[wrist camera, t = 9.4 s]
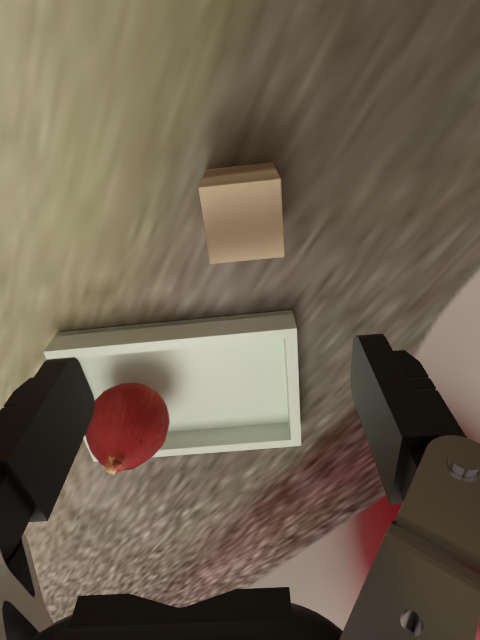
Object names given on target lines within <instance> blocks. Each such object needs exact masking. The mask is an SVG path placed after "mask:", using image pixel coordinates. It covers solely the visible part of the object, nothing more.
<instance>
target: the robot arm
mask: <svg viewBox="0 0 480 640" xmlns="http://www.w3.org/2000/svg"><path fill="white" fill-rule="evenodd" d="M351 390H352V395H353V399H354V402H355V405H356V408H357V411H358V414H359V417H360V420H361V423H362V426H363V428H364V431H365V434H366V437H367V440H368V443H369V446H370V449H371V452H372V455H373V458H374V460H375V463H376V466H377V469H378V472H379V475H380V478H381V481H382V484H383V487H384V490H385V493H386V495H387V498H388V501H389V504H397V503H398V504H400V503H403V504H402V506H401V509H400V511H399V513H398V516H397V518H396V520H395V521H392V522H391V524H390V526H389V527H388V530H387V532H386V534H385V536H384V538H383V541H382V543H381V545H380V547H379V550H378V552H377V555H376V557H375V559H374V561H373V564H372V566H371V569H370V570H369V573H368V575H367V577H366V580H365V582H364V584H363V587H362V589H361V591H360V593H359V596H358V598H357V600H356V603H355V605H354V607H353V610H352V612H351V614H350V617H349V619H348V621H347V623H346V626H345V628H344V630H343V631H342V630H341V629H340V628H338V627H337V626H336V625H335V624H333V623H332V622H331V621H329V620H328V619H326V618H325V617H323V616H321V615H320V614H318V613H317V612H314V611H312V610H310V609H308V608H305V607H303V606H300V605H296V604H293V603H291V602H290V591H289V587H278V588H256V589H255V588H254V589H235V590H233V591H230V592H227V593H224V594H221V595H218V596H215V597H212V598H209V599H207V600H204V601H201V602H198V603H195V604H192V605H189V606H186V607H182V608H177V607H173V606H169V605H166V604H162V603H159V602H156V601H152V600H149V599H145V598H142V597H138V596H135V595H131V594H111V595H88V596H78V599H77V602H76V605H75V609H74V612H73V615H70V616H68V617H66V618H64V619H62V620H60V621H57V622H56V623H53V621H52V619H51V617H50V615H49V613H48V611H47V609H46V606H45V604H44V601H43V597H42V593H41V590H40V586H39V582H38V578H37V574H36V571H35V567H34V563H33V559H32V555H31V552H30V548H29V544H28V540H27V538H26V536H25V535H24V531H25V529H26V527H27V524H28V522H36V521H48V519H49V517H50V514H51V512H52V510H53V507H54V505H55V503H56V501H57V498H58V496H59V494H60V491H61V489H62V487H63V484H64V482H65V480H66V478H67V475H68V473H69V471H70V468H71V466H72V464H73V461H74V459H75V457H76V454H77V452H78V450H79V448H80V445H81V443H82V441H83V438H84V436H85V434H86V431H87V429H88V427H89V424H90V422H91V420H92V418H93V415H94V410H95V400H94V396H93V393H92V391H91V388H90V386H89V383H88V381H87V379H86V376H85V374H84V372H83V369H82V367H81V364H80V362H79V361H78V359H77V358H75V357H70V358H57V359H48V360H46V361H45V362H44V363H43V365H42V366H41V368H40V369H39V371H38V372H37V374H36V375H35V377H34V378H29V379H28V380H27V381H26V382H25V383H23V384H22V385H21V386H20V387H19V388H17V389H16V390H15V391H14V392H13V394H12V395H11V396H10V398H9V399H8V401H7V402H6V403H5V405H4V408H2V409H1V410H0V640H475V637H476V632H477V627H478V623H479V618H480V444H479V443H477V442H476V441H473V440H471V439H468V438H467V437H466V436H465V434H464V433H463V431H462V429H461V428H460V426H459V425H458V423H457V421H456V420H455V418H454V417H453V415H452V413H451V412H450V410H449V408H448V407H447V405H446V404H445V402H444V400H443V399H442V397H441V395H440V394H439V392H438V391H436V387H435V386H434V384H433V382H432V381H431V379H429V378H428V374H427V373H426V371H425V370H424V368H423V366H422V365H421V363H420V362H419V361H418V360H417V359H415V358H414V357H413V356H411V355H410V354H409V353H408V352H406V351H405V350H400V351H393V350H392V348H391V346H390V345H389V343H388V341H387V339H386V337H385V336H384V335H383V334H371V335H358V336H355V337H354V340H353V351H352V364H351Z"/></svg>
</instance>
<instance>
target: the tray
mask: <svg viewBox="0 0 480 640" xmlns="http://www.w3.org/2000/svg"><path fill="white" fill-rule="evenodd" d="M43 352H44V355H45V357H46V359H47V360H48V359H57V358H70V357H75V358H77V359H78V361H79V362H80V364H81V367H82V369H83V372H84V374H85V376H86V379H87V381H88V383H89V386H90V388H91V391H92V393H93V396H94V400H96V399H97V398H98V397H99V396H100V395H101V394H102V393H103V392H104V391H105V390H107V389H109V388H111V387H114V386H116V385H119V384H122V383H139V384H143V385H146V386H148V387H150V388H151V389H153V390H155V391H157V392H158V394H159V395H160V396H161V397H162V398H163V400H164V402H165V403H166V405H167V409H168V413H169V421H170V423H169V427H168V431H167V435H166V439H165V442H164V444H163V445H162V447H161V448H160V449H159V450H158V451H157V452H156V453H155V455H154V456H152V457H161V456H174V455H187V454H200V453H213V452H226V451H239V450H252V449H266V448H279V447H292V446H301V430H300V402H299V374H298V346H297V327H296V323H295V319H294V315H293V310H286V311H275V312H265V313H254V314H243V315H233V316H222V317H212V318H201V319H191V320H180V321H170V322H159V323H149V324H138V325H128V326H117V327H107V328H96V329H86V330H75V331H64V332H57V334H56V335H55V337H54V338H53V339H52V341H51V342H50V343H49V345H48V346H47V347H46V349H45V350H44V351H43ZM83 439H84V441H85V443H86V446H87V448H88V450H89V452H90V454H91V456H92V459H93V461H94V462H96V461H98V460H97V459H96V458H95V457H94V456H93V454H92V453H91V451H90V448H89V446H88V443H87V440H86V436H84V438H83Z"/></svg>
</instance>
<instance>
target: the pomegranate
mask: <svg viewBox="0 0 480 640" xmlns="http://www.w3.org/2000/svg"><path fill="white" fill-rule="evenodd" d="M169 423H170V421H169V413H168V409H167V405H166V403H165V402H164V400H163V398H162V397H161V396H160V395H159V394H158V392H157V391H155V390H153V389H151V388H150V387H148V386H146V385H143V384H139V383H122V384H119V385H116V386H114V387H111V388H109V389H107V390H105V391H104V392H103V393H102V394H101V395H100V396H99V397H98V398H97V399H96V400H95V410H94V415H93V418H92V420H91V422H90V424H89V427H88V429H87V431H86V434H85V436H86V440H87V443H88V446H89V448H90V451H91V453H92V454H93V456H94V457H95V458H96V459H97V460H98V461H99V462H100V463H101V464H102V465H104V466H105V467H106V469H105V470H106V472H107V473H110V474H113V475H114V474H116V473H118V472H119V471H123V470H130V469H133V468H136V467H137V466H139V465H141V464H143V463H144V462H146V461H147V460H148V459H150V458H151V457H152V456H154V455H155V453H156V452H157V451H158V450H159V449H160V448H161V447H162V445H163V444H164V442H165V439H166V435H167V431H168V427H169Z"/></svg>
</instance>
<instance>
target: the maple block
mask: <svg viewBox="0 0 480 640" xmlns="http://www.w3.org/2000/svg"><path fill="white" fill-rule="evenodd" d="M199 194H200V200H201V207H202V214H203V220H204V227H205V233H206V240H207V246H208V253H209V259H210V264H215V263H225V262H236V261H246V260H256V259H267V258H277V257H284V239H283V216H282V194H281V178H280V176H279V174H278V172H277V170H276V168H275V166H274V164H273V162H269V163H260V164H251V165H242V166H232V167H223V168H214V169H206V170H205V173H204V175H203V178H202V180H201V183H200V185H199Z"/></svg>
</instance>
